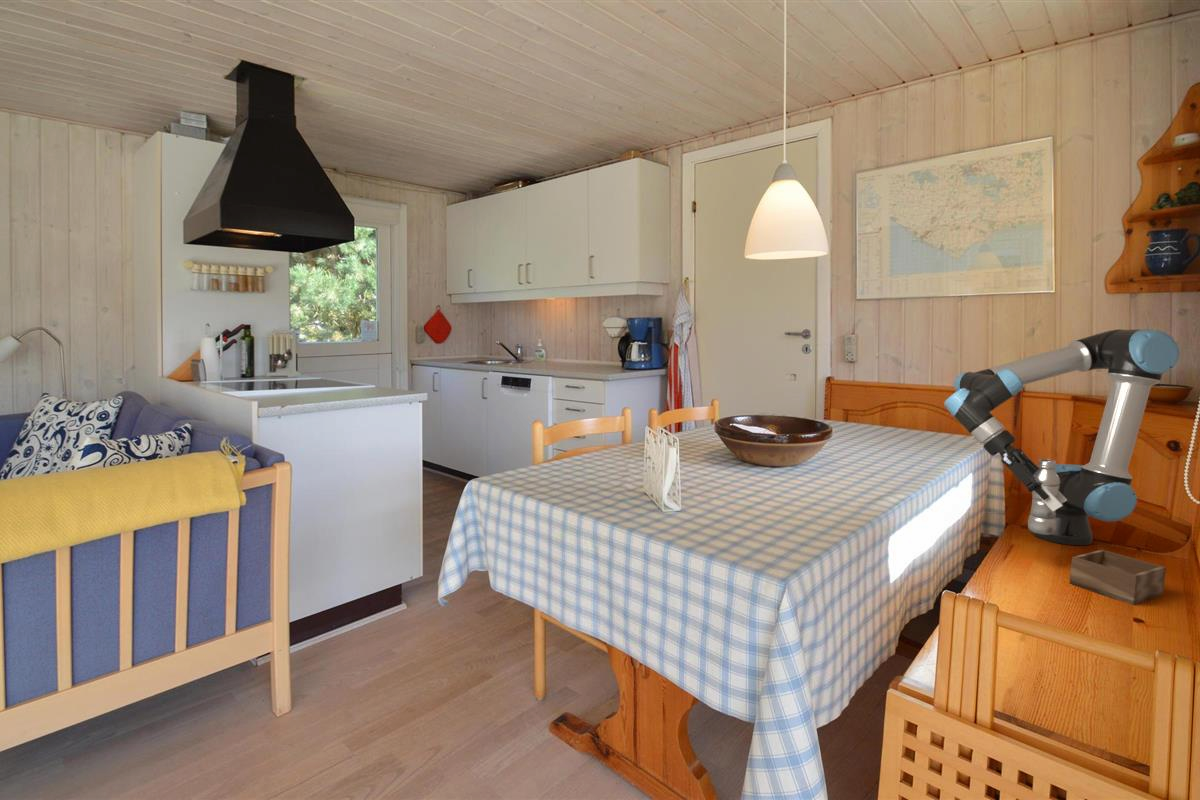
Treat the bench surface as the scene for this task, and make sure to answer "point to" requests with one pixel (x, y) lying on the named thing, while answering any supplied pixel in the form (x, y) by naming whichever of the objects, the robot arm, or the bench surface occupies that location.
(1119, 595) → the walnut bottle box
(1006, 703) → the bench surface
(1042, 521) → the plastic bottle
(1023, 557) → the bench surface
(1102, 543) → the bench surface
